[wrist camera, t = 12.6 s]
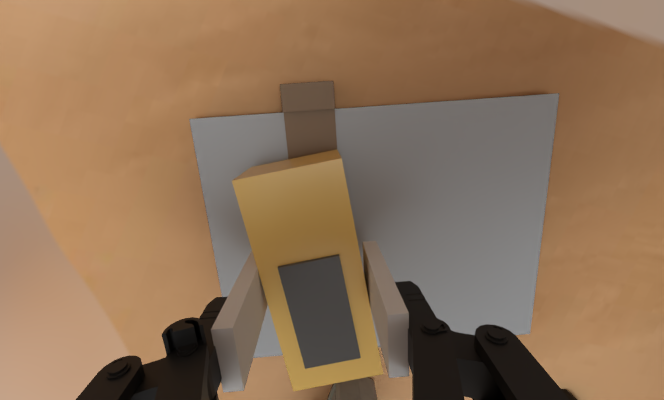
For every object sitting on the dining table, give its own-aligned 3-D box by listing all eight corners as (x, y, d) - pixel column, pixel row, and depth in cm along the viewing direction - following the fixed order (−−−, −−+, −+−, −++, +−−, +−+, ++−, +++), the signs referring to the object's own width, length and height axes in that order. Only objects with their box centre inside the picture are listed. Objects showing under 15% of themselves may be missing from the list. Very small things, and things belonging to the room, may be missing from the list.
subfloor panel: (550, 69, 19) (569, 64, 17) (519, 341, 24) (532, 355, 23) (191, 93, 18) (180, 91, 17) (240, 365, 24) (235, 381, 22)
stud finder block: (337, 149, 17) (341, 158, 13) (371, 325, 20) (383, 377, 16) (251, 166, 17) (230, 181, 13) (298, 340, 21) (293, 394, 16)
